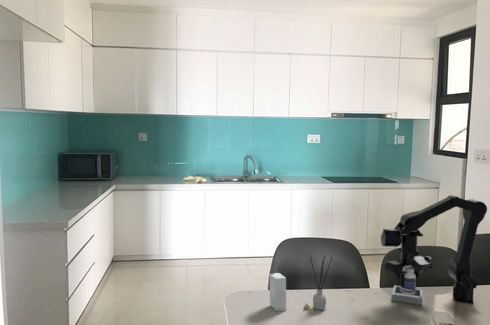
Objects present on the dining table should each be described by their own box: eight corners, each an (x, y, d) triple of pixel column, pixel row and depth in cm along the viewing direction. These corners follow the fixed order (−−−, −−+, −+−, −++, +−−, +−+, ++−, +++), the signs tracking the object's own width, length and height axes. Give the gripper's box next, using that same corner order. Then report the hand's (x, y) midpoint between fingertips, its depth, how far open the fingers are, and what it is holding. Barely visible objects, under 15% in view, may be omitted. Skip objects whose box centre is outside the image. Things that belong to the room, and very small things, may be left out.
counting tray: (422, 295, 158) (422, 289, 158) (421, 305, 149) (422, 299, 148) (394, 291, 163) (394, 285, 162) (391, 300, 153) (392, 294, 153)
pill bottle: (416, 295, 152) (417, 270, 152) (401, 294, 153) (402, 269, 153) (413, 290, 157) (414, 266, 157) (399, 289, 159) (400, 265, 158)
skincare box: (286, 310, 143) (287, 277, 143) (275, 312, 142) (276, 279, 141) (279, 303, 149) (280, 272, 148) (268, 305, 148) (269, 273, 147)
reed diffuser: (328, 305, 148) (330, 252, 147) (334, 313, 141) (336, 258, 140) (302, 306, 147) (303, 253, 146) (307, 314, 140) (308, 259, 139)
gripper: (404, 254, 144) (403, 296, 145) (444, 250, 150) (442, 290, 151) (384, 246, 154) (383, 286, 155) (421, 242, 161) (420, 280, 161)
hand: (408, 285), depth 155 cm, fingers closed on pill bottle, 5 cm apart
